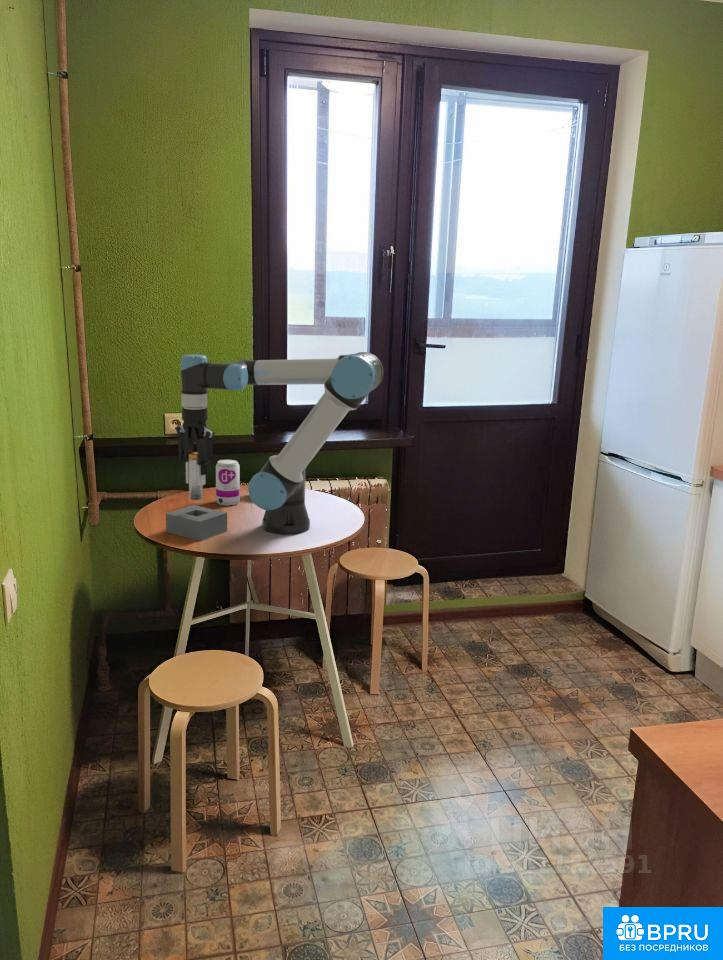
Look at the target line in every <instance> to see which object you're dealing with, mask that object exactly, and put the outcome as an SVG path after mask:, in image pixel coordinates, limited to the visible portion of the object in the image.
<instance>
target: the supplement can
mask: <svg viewBox="0 0 723 960" xmlns="http://www.w3.org/2000/svg"><path fill="white" fill-rule="evenodd" d="M240 470H241V469H240V464H239V462H238V460H235V459H220V460H218V461H217V463H216V465H215V502H216V503H217V504H218V505H221V506H229V507H230V505H232V506H235V505H238V504H239V502H241V501H240V495H241V494H240V492H241V491H240V490H241V489H240V487H241V486H240V481H241V480H240V475H241V473H240Z"/></svg>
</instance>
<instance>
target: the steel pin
mask: <svg viewBox="0 0 723 960" xmlns="http://www.w3.org/2000/svg"><path fill="white" fill-rule="evenodd" d="M198 463H199V459H198V452H197V451H193V452H191V453H189V483H188V491H189V492H188V494H189V495H188V497H189V500H192V501H201V500H203V497H204V496H203V495H204V493H203V487H204V485H201V486H197V465H198Z"/></svg>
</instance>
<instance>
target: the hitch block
mask: <svg viewBox="0 0 723 960" xmlns="http://www.w3.org/2000/svg"><path fill="white" fill-rule="evenodd" d="M165 530H166V531H165V532H166V533H167V532H168V534H171V535H176V536H180V537H182V538H187V539H191V540H195V541H199V542H201V541H206V540H207V539H210V538H212V537H216V536H217V535H220V534H223V533H226V532H228V513H227V512H225V511H221V510H218V509H213V508H207V507H204V506H201V505H200V506H199V505H195V504H192V505H189V506H186V507H181V508H179V509H175V510H172V511H170V512H166V513H165Z"/></svg>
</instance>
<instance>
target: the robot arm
mask: <svg viewBox="0 0 723 960" xmlns="http://www.w3.org/2000/svg"><path fill="white" fill-rule="evenodd" d="M179 371H180V383H181V391H180V392H181V396H180V397H181V402H180V404H181V407H182V408H181V420H182V421H183V422H182V425H179V426H176V427H175V431H176V434H177V445H178V447H177V448H178V458H179V459H180V460H181V459H182V460H183V463H184V465H183V466H184V472H185V483H186V484H189V453H191V452H194V444H195V446H196V452H198V459H199V463H198V465H197V486H201V485H203V486H204V485H206V475H207V473H208V471H207V470H208V469H207V467H208V465H207V464H210V463H212V462H213V447H214V446H213V445H214V439H213V438H214V436H215V431H214V430H210V429H208V425H207V421H208V419H209V417H208V414H209V413H208V408H207V407H208V389H212V390H213V389H214V390H224V391H225V390H226V391H231V392H234V391H244V389H245V388H246V387H247V386H260V385H261V386H266V385H267V386H269V385H271V386H273V385H275V386H276V385H277V386H278V385H280V386H281V385H282V386H284V385H288V386H289V385H290V386H291V385H297V386H298V385H324V387H323V388H324V393H323V394H322V395H321V397H320V398H319V399H318V401H317V402H316V403H315V405H314V406H313V407H312V409H311V410H310V411H309V413H308V415H307V416H306V417H305V419H304V420H303V421H302V423H301V424H300V425H299V427H298V428H297V429H296V431H295V432H294V433H293V434H292V436H291V437H290V439H289V440H288V441H287V443H286V444H285V445H284V447H283V448H282V450H281V451H280V452H279V454H274V455H271V456H269V458H268V460H267V461H266V462H265V464H264V465H263V466H262V468H261V469H260V470H259V472H257V473H256V474H254V475H252V477H251V479H250V481H249V482H248V486H247V487H248V488H247V491H248V495H249V498H250V500H251V501H252V503H253V504H254V505H255V506H257V507H258V508H259V509H261V510H264V511H265V512H264V514H263V518H262V523H261V525H262V529H263V530H264V531H266V532H268V533H273V534H274V533H275V534H280V535H292V534H299V533H304V532H306V531H309V529H310V527H311V520H310V517H309V514H308V511H307V507H306V502H305V501H306V470H307V467H308V466H309V464H310V462H311V461H312V460H313V459H314V457H315V456H316V455H317V453H318V452H319V451H320V449H321V448H322V447H323V445H324V444H325V443H326V441H327V440H328V439H329V438H330V436H331V435H332V434H333V432H334V431H335V430H336V429H337V427H338V426H339V424H340V423H341V422H342V421H343V420H344V418H345V417H346V415H347V414H348V413H349V412H350V411H355V410H358V408H359V407H360V406H361V404H362V403H363V402H364V401H365V400H366V398H367V397H368V395H369V394H370V393H371V392H372V391H373V390H375V389H377V388H378V387H379V385H380V384H381V382H382V381H383V377H384V366H383V364H382V362H381V360H380V359H379V358H378V357H377V356H376V355H375V354H372V353H371V352H368V351H367V352H366V351H361V352H360V351H359V352H356V353H351V354H340V355H338V356H337V357H336V358H310V359H309V358H305V359H303V358H301V359H299V358H297V359H296V358H295V359H259V360H258V359H257V360H253V359H252V360H250V359H240V360H238V361H232V362H227V363H223V362H222V363H216V362H210V361H209V362H208V357H207V356H206V355H204V354H184V355H182V356H181V359H180V370H179Z"/></svg>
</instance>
